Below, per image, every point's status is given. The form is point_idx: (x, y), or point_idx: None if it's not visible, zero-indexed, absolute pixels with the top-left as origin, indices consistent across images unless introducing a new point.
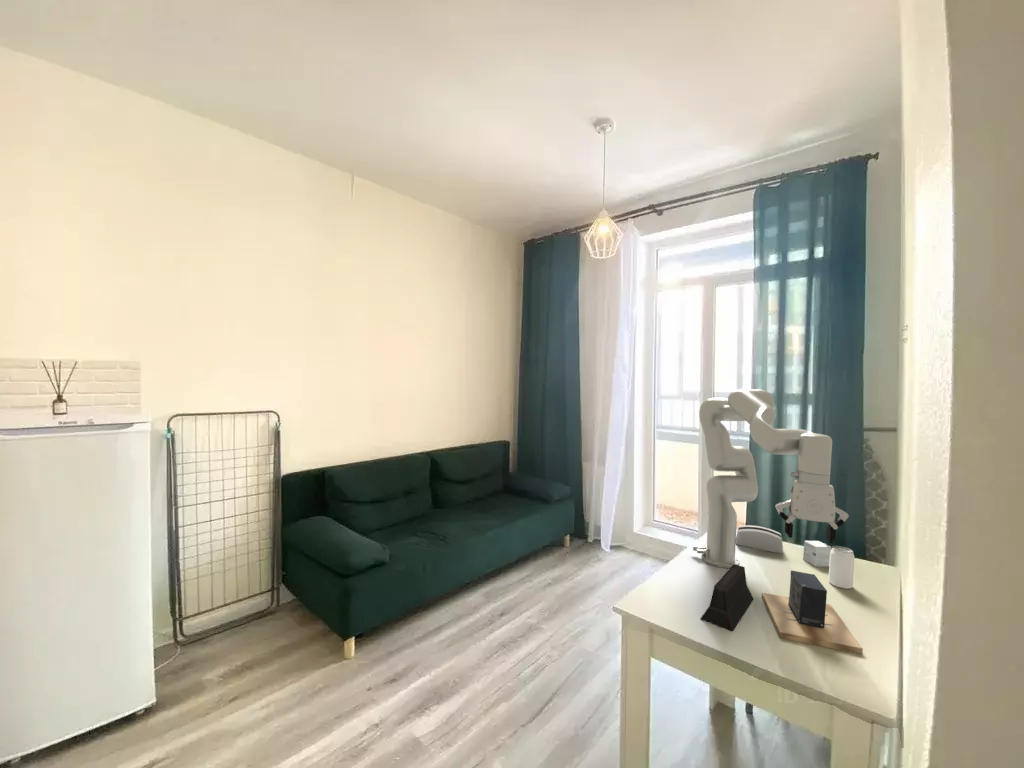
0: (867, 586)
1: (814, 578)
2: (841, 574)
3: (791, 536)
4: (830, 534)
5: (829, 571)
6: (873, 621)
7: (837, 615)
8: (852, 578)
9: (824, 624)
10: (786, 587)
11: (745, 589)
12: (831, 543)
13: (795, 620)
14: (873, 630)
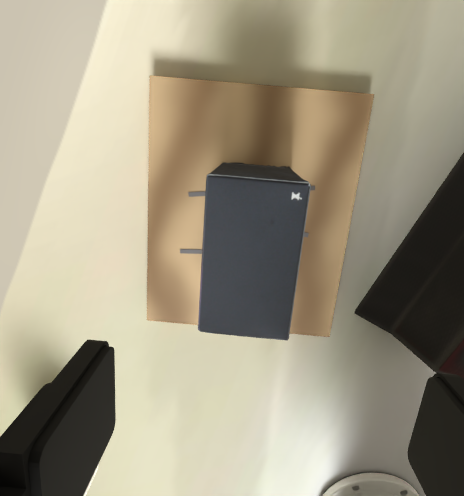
0: None
1: (215, 287)
2: None
3: (446, 378)
4: (72, 401)
5: (86, 489)
6: (57, 280)
7: (150, 259)
8: None
9: None
10: (228, 405)
11: (404, 308)
12: (99, 343)
13: None
14: (74, 230)
